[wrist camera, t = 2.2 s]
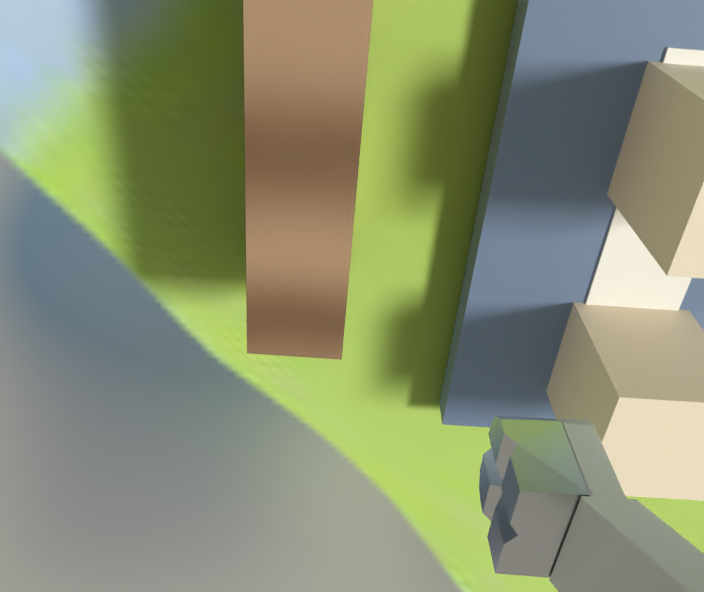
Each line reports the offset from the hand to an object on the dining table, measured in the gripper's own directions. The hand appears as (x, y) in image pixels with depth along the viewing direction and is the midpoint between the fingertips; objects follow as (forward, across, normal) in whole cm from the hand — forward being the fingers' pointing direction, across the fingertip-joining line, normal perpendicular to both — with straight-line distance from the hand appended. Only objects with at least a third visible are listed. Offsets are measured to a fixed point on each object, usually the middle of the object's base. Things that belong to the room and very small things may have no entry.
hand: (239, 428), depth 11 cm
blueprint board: (+18, -14, +4) cm, 23 cm away
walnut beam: (+18, 0, 0) cm, 18 cm away
